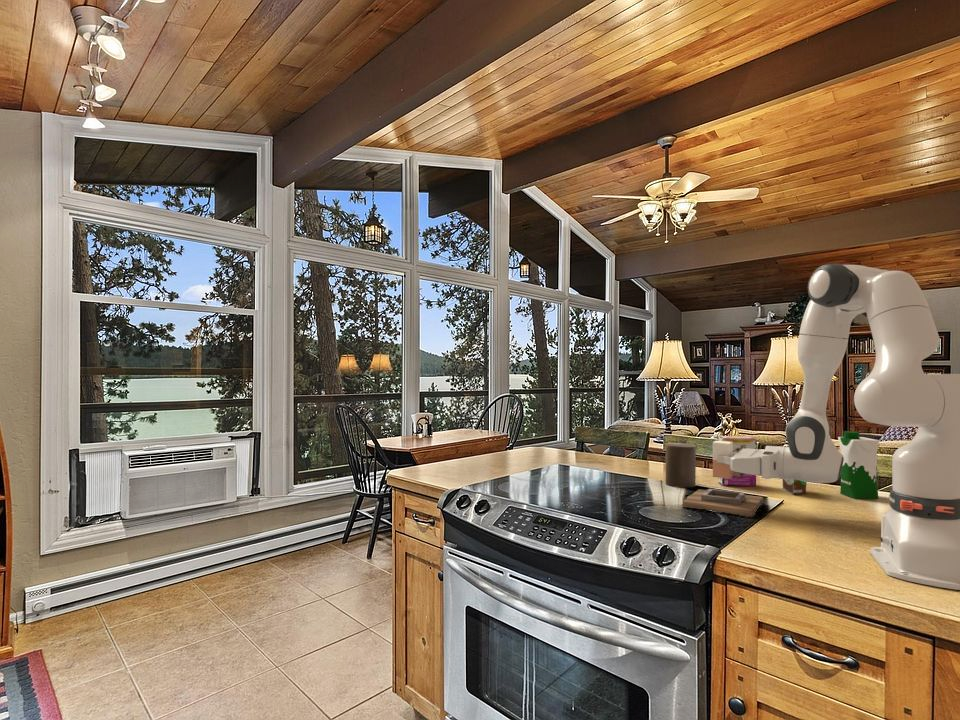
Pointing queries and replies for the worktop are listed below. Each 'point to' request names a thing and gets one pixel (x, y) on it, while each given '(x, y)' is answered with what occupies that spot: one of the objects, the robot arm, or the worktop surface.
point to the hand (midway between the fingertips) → (719, 457)
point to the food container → (794, 486)
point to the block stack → (722, 450)
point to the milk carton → (859, 466)
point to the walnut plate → (724, 501)
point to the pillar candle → (680, 464)
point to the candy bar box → (738, 445)
